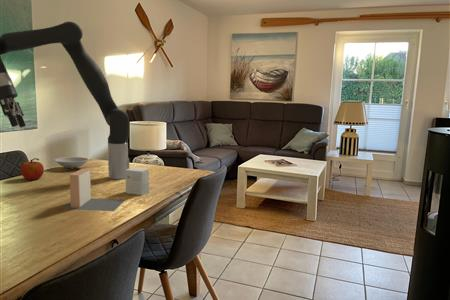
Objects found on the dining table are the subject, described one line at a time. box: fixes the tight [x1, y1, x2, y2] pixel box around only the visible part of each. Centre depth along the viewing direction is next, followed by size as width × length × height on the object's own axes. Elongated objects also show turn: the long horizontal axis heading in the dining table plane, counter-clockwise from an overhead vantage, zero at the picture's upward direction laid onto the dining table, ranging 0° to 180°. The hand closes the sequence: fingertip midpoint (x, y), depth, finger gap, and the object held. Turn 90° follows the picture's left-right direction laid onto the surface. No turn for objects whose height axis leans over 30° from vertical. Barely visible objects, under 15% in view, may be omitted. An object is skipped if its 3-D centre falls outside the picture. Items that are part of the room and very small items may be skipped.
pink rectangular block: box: [69, 168, 92, 208], centre depth 128 cm, size 3×10×12 cm, turn 178°
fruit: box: [20, 157, 45, 181], centre depth 163 cm, size 10×10×10 cm
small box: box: [125, 167, 150, 196], centre depth 144 cm, size 8×6×10 cm
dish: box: [54, 156, 90, 170], centre depth 187 cm, size 18×14×5 cm
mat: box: [61, 197, 126, 212], centre depth 128 cm, size 18×13×1 cm
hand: (19, 126), depth 137 cm, fingers open, 8 cm apart
